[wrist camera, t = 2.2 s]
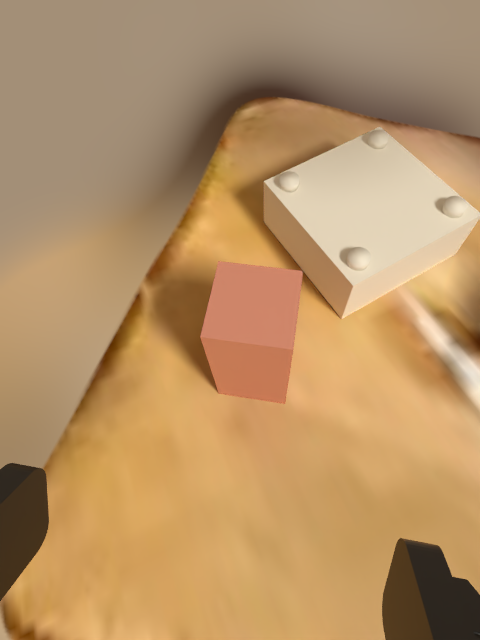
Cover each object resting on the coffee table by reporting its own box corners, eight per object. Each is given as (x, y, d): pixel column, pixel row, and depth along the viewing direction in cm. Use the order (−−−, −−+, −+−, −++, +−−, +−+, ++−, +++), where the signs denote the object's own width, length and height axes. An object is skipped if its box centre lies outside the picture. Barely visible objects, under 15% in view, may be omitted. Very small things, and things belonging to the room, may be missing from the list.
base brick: (367, 171, 41) (382, 119, 36) (455, 254, 36) (486, 208, 30) (263, 221, 38) (263, 174, 33) (341, 319, 33) (355, 280, 28)
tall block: (231, 334, 33) (218, 261, 24) (292, 342, 33) (303, 270, 24) (218, 393, 31) (200, 336, 22) (285, 403, 30) (293, 349, 21)
